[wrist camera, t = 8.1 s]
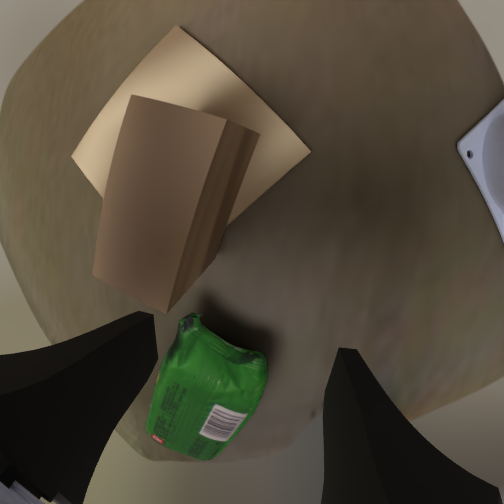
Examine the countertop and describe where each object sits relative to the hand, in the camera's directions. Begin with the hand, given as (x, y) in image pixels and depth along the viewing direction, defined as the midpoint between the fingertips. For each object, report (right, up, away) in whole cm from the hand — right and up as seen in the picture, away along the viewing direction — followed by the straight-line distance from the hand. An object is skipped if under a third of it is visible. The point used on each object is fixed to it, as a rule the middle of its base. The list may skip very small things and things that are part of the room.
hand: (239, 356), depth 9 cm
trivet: (-5, +10, +8) cm, 13 cm away
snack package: (-3, -7, +14) cm, 16 cm away
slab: (-2, +7, +8) cm, 11 cm away
